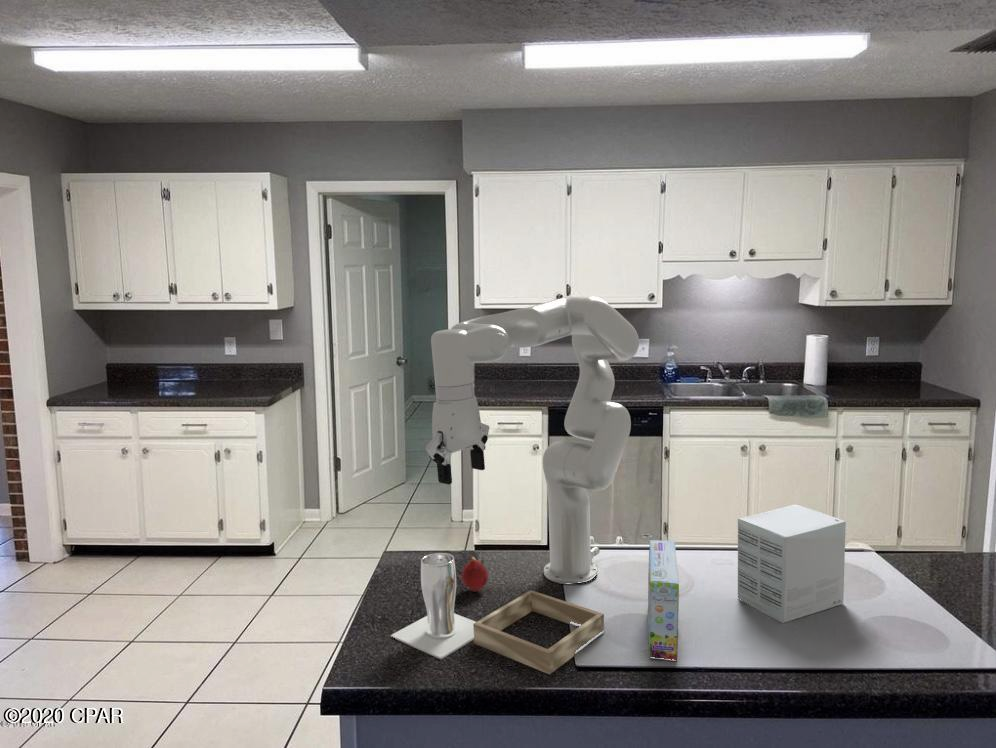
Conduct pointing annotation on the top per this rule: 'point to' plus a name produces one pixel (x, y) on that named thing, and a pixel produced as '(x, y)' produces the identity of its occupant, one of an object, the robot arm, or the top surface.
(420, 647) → the mat
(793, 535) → the supplement box
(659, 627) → the snack box
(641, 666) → the top surface
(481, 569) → the onion
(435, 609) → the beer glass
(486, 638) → the wooden frame
